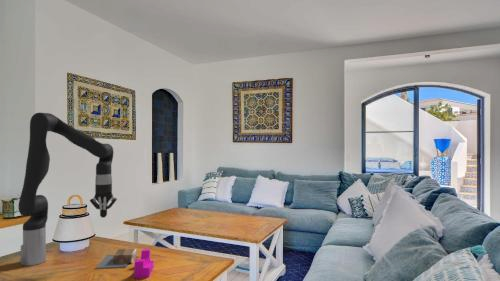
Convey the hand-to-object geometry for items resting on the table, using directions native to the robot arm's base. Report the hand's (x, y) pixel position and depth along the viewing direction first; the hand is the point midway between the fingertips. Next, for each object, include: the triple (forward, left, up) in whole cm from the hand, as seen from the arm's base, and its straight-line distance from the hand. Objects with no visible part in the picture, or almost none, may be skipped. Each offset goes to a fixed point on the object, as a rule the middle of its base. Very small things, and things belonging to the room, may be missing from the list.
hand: (103, 217), depth 148 cm
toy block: (+23, -13, -23) cm, 35 cm away
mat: (+6, 0, -23) cm, 24 cm away
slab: (+6, 0, -20) cm, 21 cm away
